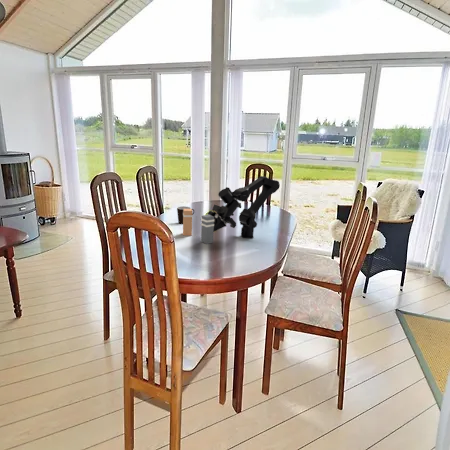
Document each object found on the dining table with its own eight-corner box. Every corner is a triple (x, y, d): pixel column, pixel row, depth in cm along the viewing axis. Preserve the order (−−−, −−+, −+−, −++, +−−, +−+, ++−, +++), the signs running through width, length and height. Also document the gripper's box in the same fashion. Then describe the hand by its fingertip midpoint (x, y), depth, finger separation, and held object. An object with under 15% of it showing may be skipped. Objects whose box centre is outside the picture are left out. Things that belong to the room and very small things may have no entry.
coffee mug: (177, 225, 209) (177, 209, 206) (175, 221, 217) (176, 206, 214) (196, 225, 212) (196, 209, 209) (193, 221, 220) (194, 206, 217)
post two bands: (207, 240, 180) (208, 214, 176) (213, 242, 177) (214, 216, 173) (200, 241, 177) (201, 215, 173) (205, 244, 174) (206, 217, 170)
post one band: (191, 232, 191) (191, 208, 187) (192, 235, 186) (192, 210, 182) (182, 233, 190) (183, 208, 186) (183, 235, 185) (183, 210, 181)
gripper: (211, 196, 183) (193, 218, 179) (233, 202, 169) (214, 226, 165) (221, 208, 190) (204, 230, 186) (244, 216, 176) (226, 239, 172)
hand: (212, 231), depth 177 cm, fingers closed
